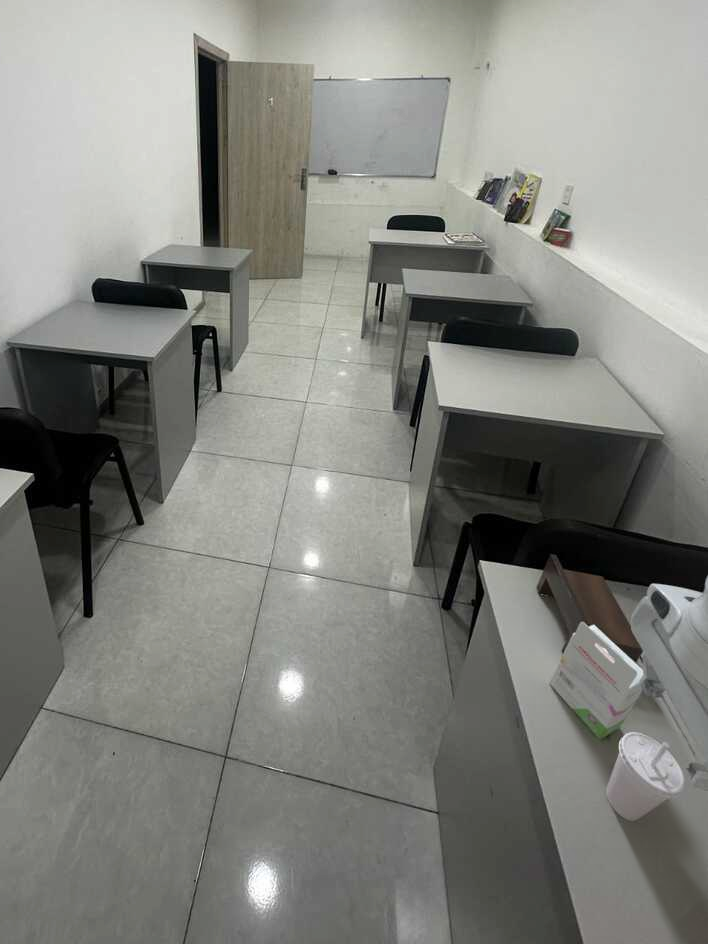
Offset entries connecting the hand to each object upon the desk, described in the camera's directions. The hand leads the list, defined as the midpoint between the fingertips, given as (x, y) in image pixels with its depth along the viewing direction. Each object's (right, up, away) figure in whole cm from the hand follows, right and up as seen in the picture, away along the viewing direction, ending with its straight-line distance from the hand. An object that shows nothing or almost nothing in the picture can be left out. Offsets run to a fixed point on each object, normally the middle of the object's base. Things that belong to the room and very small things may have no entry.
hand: (670, 732), depth 56 cm
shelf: (+9, -5, +29) cm, 31 cm away
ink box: (+1, -10, +17) cm, 20 cm away
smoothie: (-1, -14, +6) cm, 16 cm away
